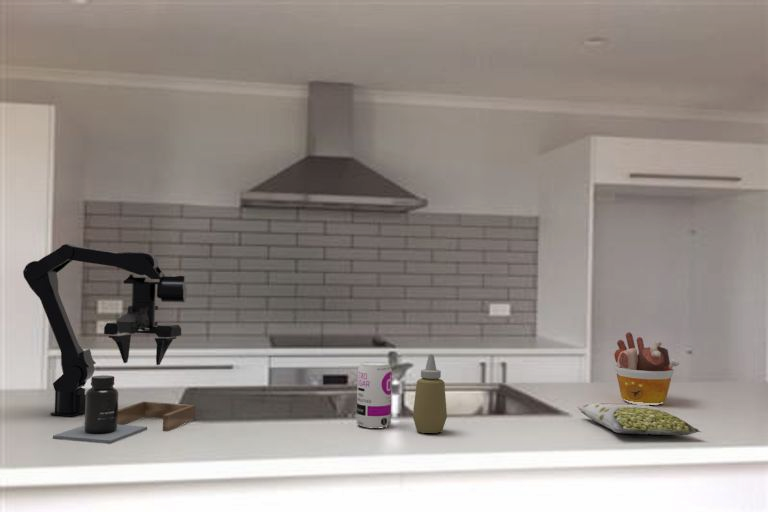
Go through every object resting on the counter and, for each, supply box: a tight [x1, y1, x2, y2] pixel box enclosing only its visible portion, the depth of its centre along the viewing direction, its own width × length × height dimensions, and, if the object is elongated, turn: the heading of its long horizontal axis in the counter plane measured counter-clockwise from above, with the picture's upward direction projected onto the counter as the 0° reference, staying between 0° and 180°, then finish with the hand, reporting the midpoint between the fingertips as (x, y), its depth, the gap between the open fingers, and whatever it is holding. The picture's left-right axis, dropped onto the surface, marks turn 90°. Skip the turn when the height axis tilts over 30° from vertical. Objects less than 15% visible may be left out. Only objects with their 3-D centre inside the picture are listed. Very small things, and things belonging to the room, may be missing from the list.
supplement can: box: [356, 361, 393, 428], centre depth 177 cm, size 8×8×15 cm
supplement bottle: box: [83, 374, 119, 434], centre depth 163 cm, size 7×7×12 cm
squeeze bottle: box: [412, 354, 448, 434], centre depth 172 cm, size 8×8×18 cm
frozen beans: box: [576, 402, 701, 436], centre depth 179 cm, size 21×6×25 cm
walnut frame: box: [117, 401, 196, 432], centre depth 175 cm, size 14×13×4 cm
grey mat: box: [52, 424, 148, 444], centre depth 163 cm, size 14×14×1 cm
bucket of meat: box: [613, 332, 680, 403], centre depth 218 cm, size 20×16×20 cm
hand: (141, 363), depth 185 cm, fingers open, 9 cm apart
